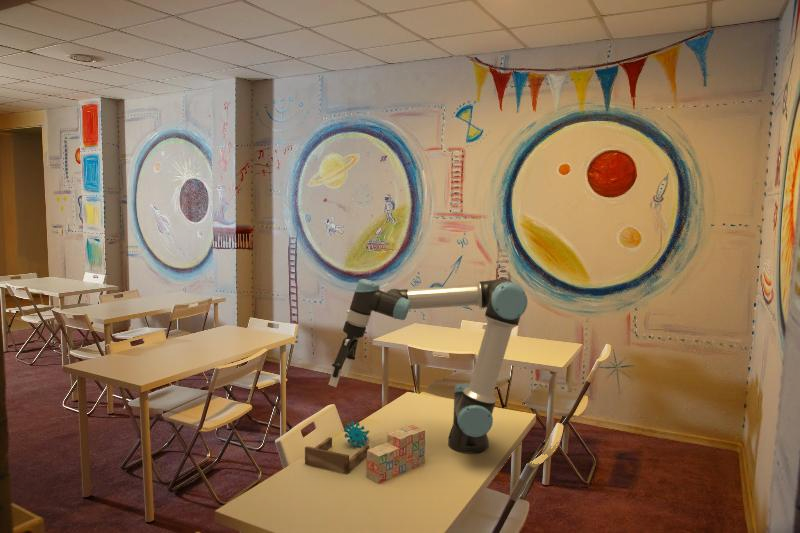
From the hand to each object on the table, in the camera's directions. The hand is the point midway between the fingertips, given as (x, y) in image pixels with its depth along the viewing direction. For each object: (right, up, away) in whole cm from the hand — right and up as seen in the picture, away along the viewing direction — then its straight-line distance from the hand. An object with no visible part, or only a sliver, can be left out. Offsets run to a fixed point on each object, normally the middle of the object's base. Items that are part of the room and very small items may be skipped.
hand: (338, 380), depth 186 cm
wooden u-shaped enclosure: (0, -27, +1) cm, 28 cm away
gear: (+6, -27, +14) cm, 31 cm away
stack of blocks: (+20, -29, -7) cm, 36 cm away
